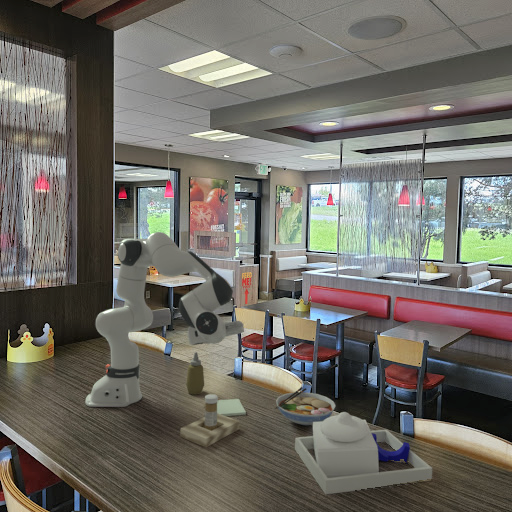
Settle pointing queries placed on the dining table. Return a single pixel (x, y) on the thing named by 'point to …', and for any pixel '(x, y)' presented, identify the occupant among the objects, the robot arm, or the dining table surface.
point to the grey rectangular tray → (364, 480)
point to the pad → (230, 407)
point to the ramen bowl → (305, 407)
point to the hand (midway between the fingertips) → (218, 335)
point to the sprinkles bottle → (211, 411)
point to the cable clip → (393, 452)
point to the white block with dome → (345, 446)
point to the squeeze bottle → (195, 376)
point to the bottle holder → (206, 437)
